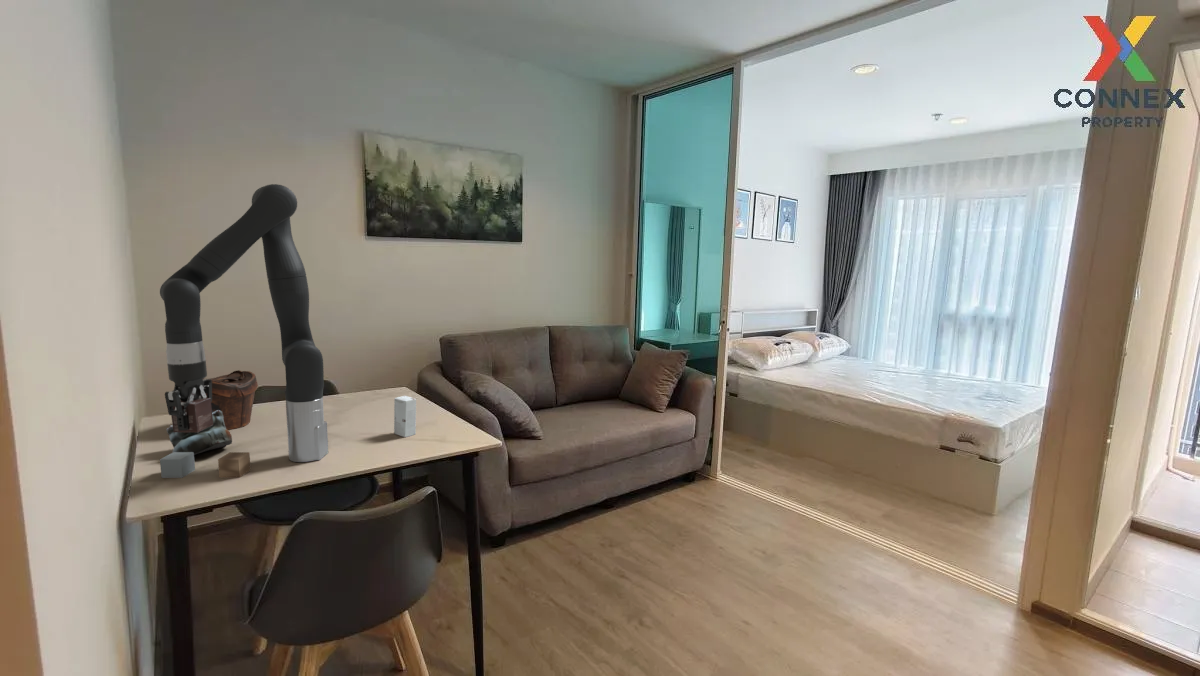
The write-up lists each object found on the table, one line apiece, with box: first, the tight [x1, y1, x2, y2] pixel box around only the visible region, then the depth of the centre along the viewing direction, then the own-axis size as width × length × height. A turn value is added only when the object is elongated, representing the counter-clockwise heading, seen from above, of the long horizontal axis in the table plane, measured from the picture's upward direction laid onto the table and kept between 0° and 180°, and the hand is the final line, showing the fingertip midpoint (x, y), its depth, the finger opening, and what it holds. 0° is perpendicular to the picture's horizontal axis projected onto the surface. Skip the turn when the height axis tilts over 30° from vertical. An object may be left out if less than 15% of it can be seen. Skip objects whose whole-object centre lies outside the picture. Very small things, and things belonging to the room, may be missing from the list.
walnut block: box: [217, 451, 252, 479], centre depth 141 cm, size 5×5×5 cm
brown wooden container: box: [203, 369, 259, 431], centre depth 178 cm, size 18×20×18 cm
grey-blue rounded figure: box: [166, 410, 233, 456], centre depth 154 cm, size 15×12×14 cm
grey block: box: [159, 451, 196, 479], centre depth 140 cm, size 5×5×5 cm
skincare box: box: [393, 395, 417, 438], centre depth 175 cm, size 6×4×12 cm
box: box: [170, 398, 213, 432], centre depth 134 cm, size 6×6×7 cm
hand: (193, 425), depth 135 cm, fingers closed on box, 6 cm apart
